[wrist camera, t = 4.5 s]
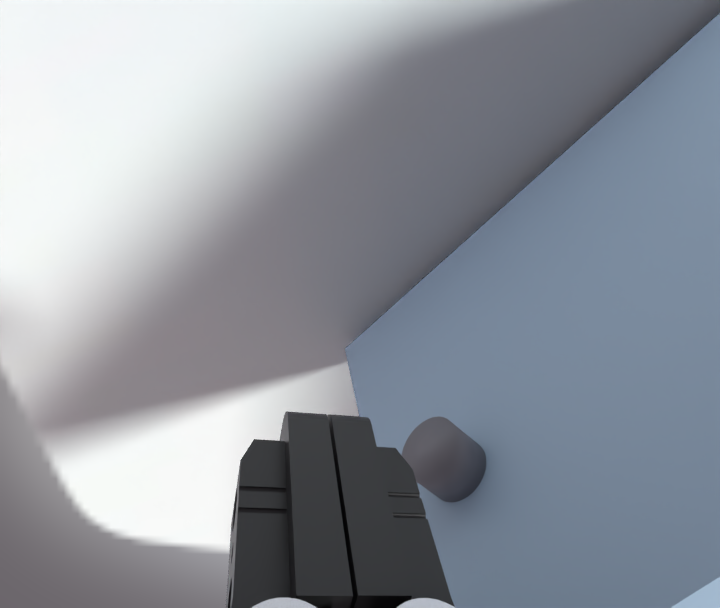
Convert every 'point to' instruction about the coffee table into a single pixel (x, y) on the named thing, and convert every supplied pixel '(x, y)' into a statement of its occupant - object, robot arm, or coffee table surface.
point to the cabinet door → (574, 368)
